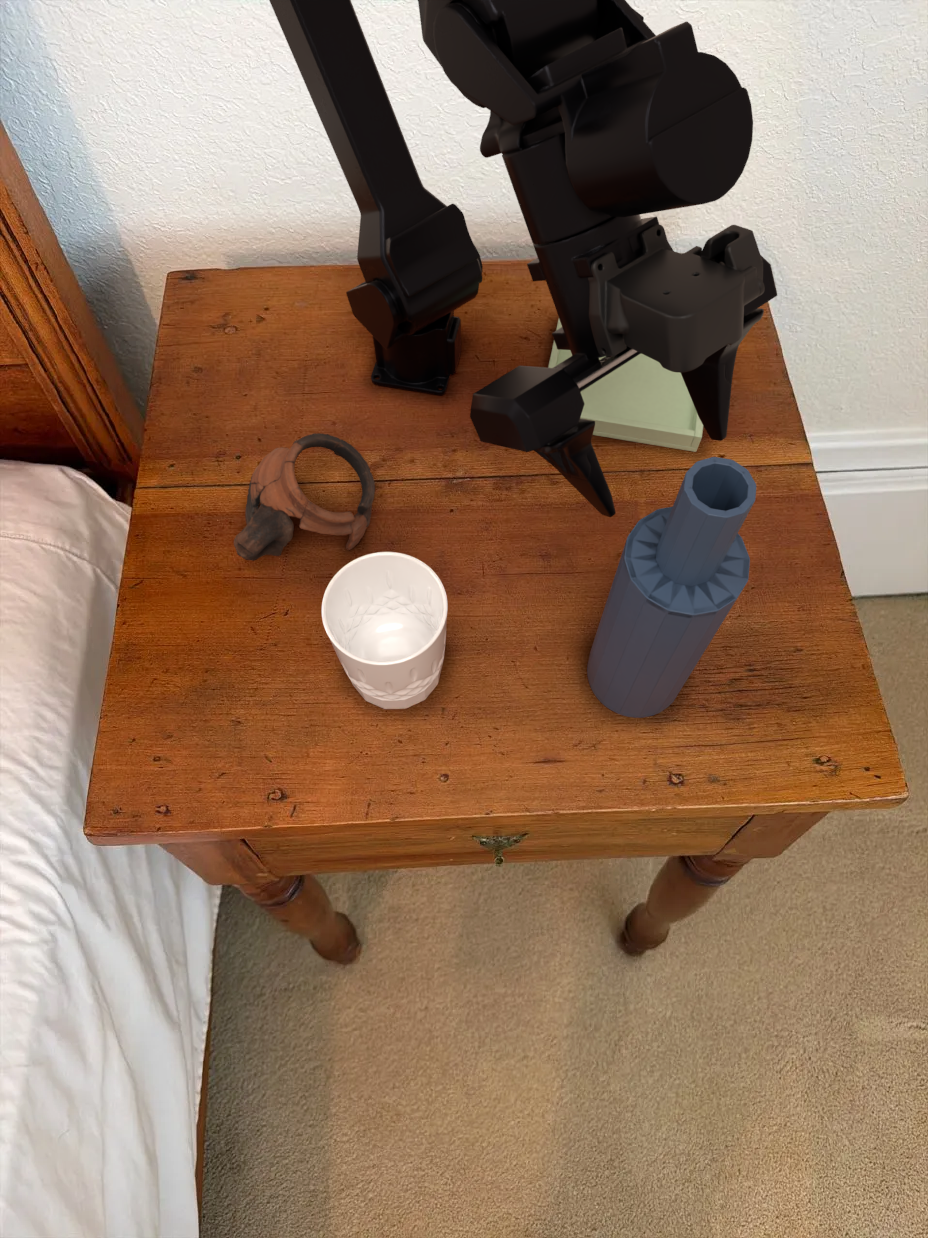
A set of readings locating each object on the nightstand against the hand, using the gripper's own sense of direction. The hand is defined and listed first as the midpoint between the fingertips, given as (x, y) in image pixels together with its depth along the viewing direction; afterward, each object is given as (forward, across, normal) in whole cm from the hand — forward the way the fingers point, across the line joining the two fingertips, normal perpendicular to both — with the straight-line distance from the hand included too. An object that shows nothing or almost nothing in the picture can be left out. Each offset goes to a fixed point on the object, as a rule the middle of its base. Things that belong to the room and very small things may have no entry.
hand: (665, 476), depth 54 cm
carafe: (+15, -5, +4) cm, 16 cm away
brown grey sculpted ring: (-1, -17, +24) cm, 29 cm away
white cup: (+8, -18, +13) cm, 24 cm away
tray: (+2, +12, +20) cm, 24 cm away
